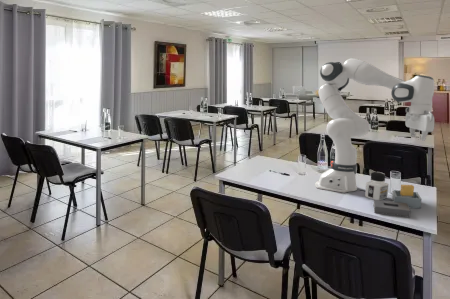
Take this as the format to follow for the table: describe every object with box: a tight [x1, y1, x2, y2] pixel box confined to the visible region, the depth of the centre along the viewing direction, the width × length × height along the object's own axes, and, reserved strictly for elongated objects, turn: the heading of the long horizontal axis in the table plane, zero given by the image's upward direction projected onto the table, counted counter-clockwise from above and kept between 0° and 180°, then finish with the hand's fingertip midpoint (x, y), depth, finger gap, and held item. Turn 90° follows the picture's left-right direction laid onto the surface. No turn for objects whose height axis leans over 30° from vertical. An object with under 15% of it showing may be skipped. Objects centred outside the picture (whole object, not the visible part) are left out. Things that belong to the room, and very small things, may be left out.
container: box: [364, 171, 389, 201], centre depth 171 cm, size 8×8×13 cm
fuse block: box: [372, 199, 411, 218], centre depth 154 cm, size 14×10×3 cm
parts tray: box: [391, 189, 423, 209], centre depth 164 cm, size 11×11×4 cm
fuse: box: [400, 184, 415, 198], centre depth 164 cm, size 5×2×8 cm, turn 85°
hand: (417, 138), depth 164 cm, fingers open, 8 cm apart
